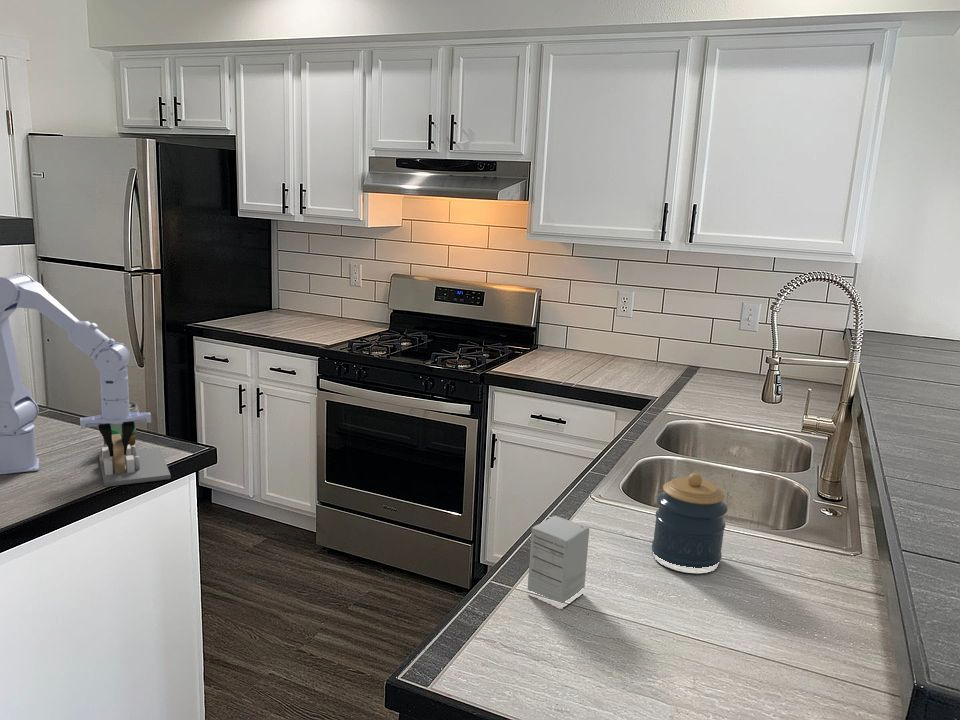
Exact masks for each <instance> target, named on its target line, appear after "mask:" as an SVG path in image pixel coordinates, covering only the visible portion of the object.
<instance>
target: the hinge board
mask: <svg viewBox="0 0 960 720" xmlns="http://www.w3.org/2000/svg"><path fill="white" fill-rule="evenodd" d="M98 458H99V463H100V465H99V466H100V470H101V475H102V476H101V477H102V481H103V486H104V488H106V487H114V486H115V487H116V486H124V485H130V484H141V483H147V482H157V481H163V480H171V478H172V477H171V475H172V474H171V473H170V470H169V467H168V465H167V463H166V460H165V458H164V455H163V452H162V450H161V448H160V447H151V448H142V449H141V448H139V449H137V446H136V444H134V445H133V446H130V445H128V446H127V452H126V455H124V461H125V472H121V473H115V470H114V465H113V461H112V457H110V453H109V449H108V447H103V446H102V447H101V452H100V453H98Z"/></svg>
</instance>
